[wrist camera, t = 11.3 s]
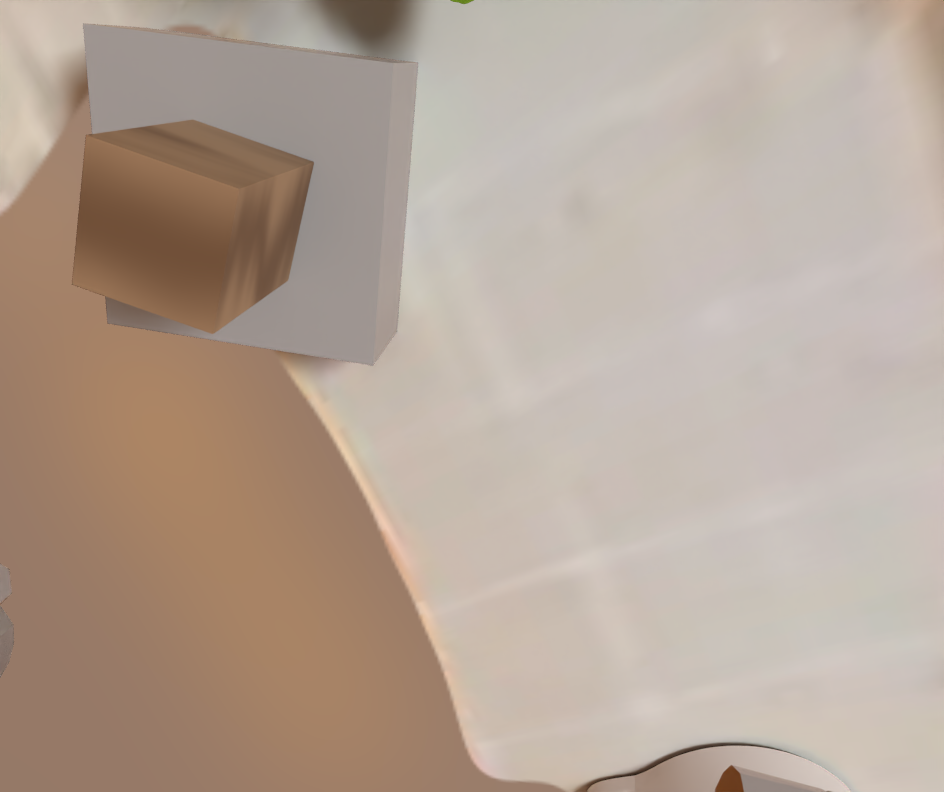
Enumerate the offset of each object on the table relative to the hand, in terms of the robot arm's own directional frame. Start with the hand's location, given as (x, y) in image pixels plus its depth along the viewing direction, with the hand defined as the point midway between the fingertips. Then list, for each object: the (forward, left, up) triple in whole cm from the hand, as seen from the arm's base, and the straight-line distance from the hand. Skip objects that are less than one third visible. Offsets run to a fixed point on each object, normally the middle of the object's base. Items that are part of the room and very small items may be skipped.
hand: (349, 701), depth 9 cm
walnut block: (-1, +11, -24) cm, 27 cm away
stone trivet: (-1, +11, -29) cm, 31 cm away
